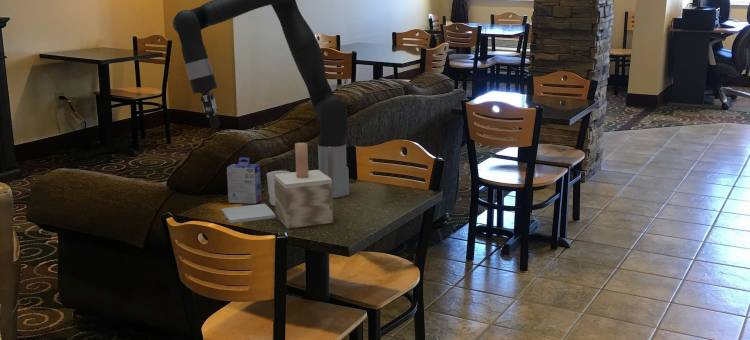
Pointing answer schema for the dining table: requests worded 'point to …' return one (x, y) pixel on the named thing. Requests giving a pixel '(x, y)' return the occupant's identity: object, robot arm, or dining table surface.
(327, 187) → the box
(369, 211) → the dining table surface
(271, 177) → the white cup
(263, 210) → the plate
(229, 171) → the ink cartridge box
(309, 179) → the lid
